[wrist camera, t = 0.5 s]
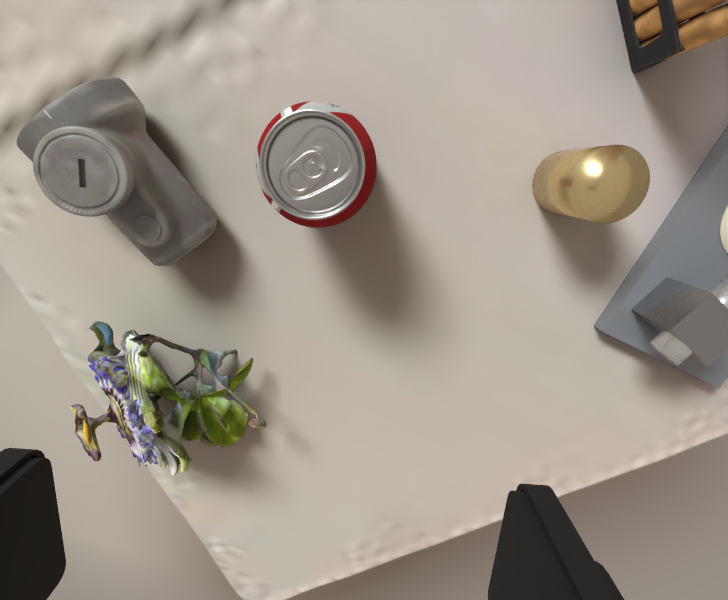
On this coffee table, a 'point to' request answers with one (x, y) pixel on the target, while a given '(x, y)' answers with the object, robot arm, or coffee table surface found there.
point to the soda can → (316, 164)
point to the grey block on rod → (687, 320)
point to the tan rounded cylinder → (592, 183)
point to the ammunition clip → (669, 28)
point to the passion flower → (141, 411)
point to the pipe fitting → (115, 170)
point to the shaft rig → (680, 261)
